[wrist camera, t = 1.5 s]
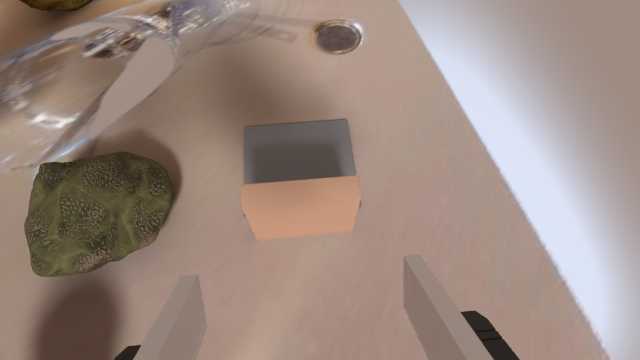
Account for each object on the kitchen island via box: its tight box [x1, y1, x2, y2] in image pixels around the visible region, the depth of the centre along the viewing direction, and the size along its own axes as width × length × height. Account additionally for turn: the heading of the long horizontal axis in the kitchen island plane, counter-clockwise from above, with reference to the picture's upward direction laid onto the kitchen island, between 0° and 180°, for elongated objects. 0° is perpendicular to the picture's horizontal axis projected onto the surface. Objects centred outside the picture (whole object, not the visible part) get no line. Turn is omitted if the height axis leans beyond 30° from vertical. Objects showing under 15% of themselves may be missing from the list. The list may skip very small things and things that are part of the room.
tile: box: [241, 175, 361, 240], centre depth 40 cm, size 2×12×10 cm, turn 96°
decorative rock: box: [24, 152, 173, 277], centre depth 40 cm, size 15×16×10 cm
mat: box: [244, 119, 361, 216], centre depth 48 cm, size 14×15×1 cm
